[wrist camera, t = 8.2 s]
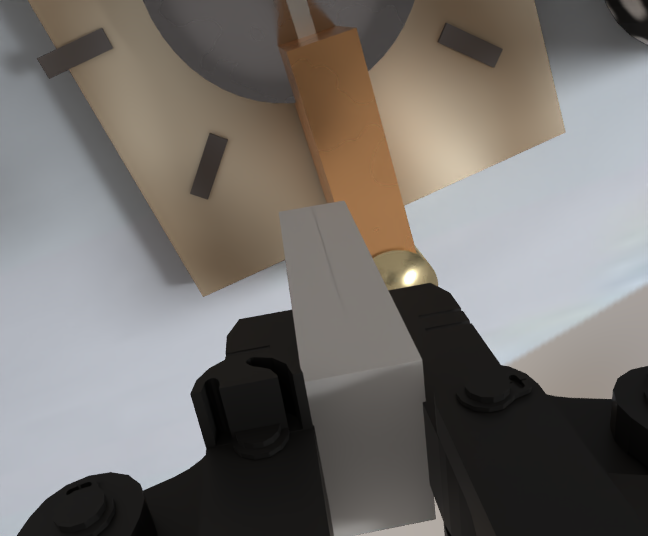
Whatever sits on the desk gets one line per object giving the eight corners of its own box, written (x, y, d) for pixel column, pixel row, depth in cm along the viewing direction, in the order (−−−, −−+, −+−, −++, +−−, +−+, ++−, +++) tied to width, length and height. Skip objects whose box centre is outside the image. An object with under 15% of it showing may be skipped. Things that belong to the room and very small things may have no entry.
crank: (83, -160, 17) (30, -222, 13) (372, -259, 17) (421, -357, 13) (270, 304, 24) (279, 372, 20) (477, 233, 24) (533, 283, 20)
